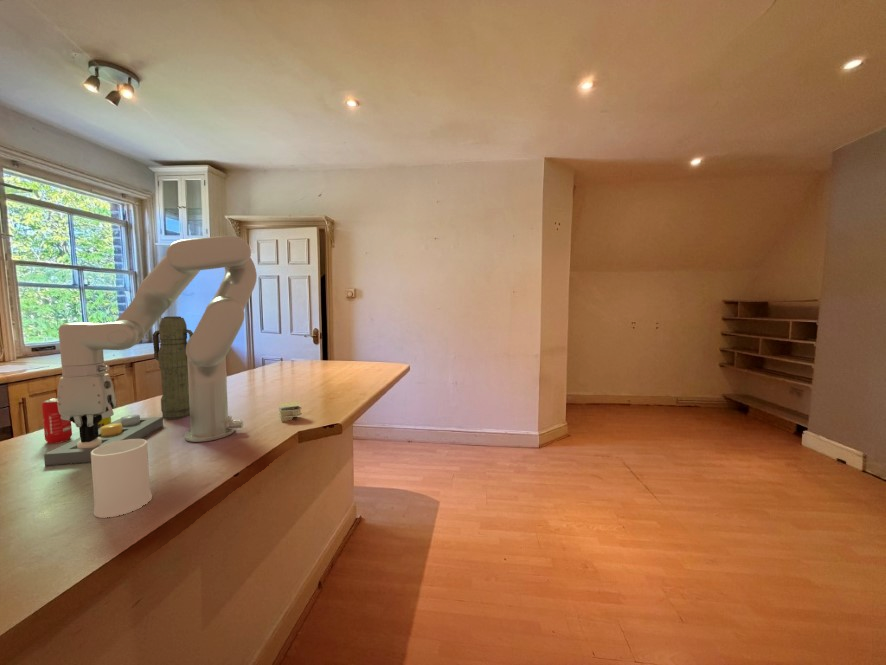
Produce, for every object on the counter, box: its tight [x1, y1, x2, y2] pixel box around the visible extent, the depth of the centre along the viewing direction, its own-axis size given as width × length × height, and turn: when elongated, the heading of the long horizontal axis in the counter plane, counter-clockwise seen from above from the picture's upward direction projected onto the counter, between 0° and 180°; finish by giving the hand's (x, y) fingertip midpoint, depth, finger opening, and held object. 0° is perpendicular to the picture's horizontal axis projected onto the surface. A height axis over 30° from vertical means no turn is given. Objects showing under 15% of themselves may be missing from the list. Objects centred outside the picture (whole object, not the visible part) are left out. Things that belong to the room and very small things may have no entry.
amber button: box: [100, 423, 122, 437], centre depth 97 cm, size 4×4×3 cm
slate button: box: [119, 414, 141, 426], centre depth 105 cm, size 4×4×3 cm
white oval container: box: [90, 438, 153, 519], centre depth 69 cm, size 12×8×12 cm
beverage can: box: [41, 397, 73, 445], centre depth 98 cm, size 5×5×12 cm
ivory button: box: [77, 437, 102, 449], centre depth 90 cm, size 4×4×3 cm
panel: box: [43, 416, 164, 467], centre depth 97 cm, size 12×26×3 cm, turn 13°
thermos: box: [152, 316, 194, 420], centre depth 121 cm, size 9×12×35 cm
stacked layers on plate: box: [278, 401, 302, 422], centre depth 119 cm, size 10×9×6 cm
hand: (89, 440), depth 90 cm, fingers closed
